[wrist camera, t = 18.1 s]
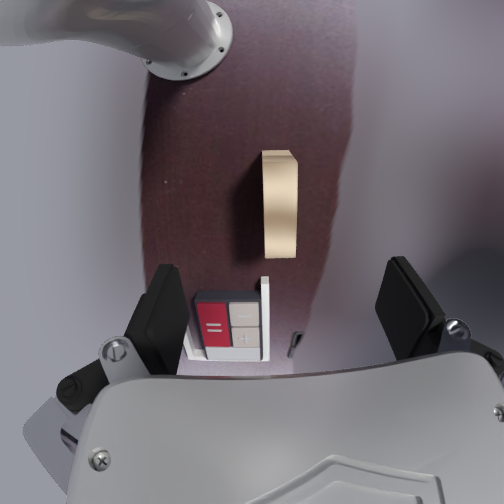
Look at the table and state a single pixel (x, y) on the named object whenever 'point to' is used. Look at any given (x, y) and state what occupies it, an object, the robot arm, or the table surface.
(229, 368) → the table surface
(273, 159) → the block
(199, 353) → the bay
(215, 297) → the calculator
